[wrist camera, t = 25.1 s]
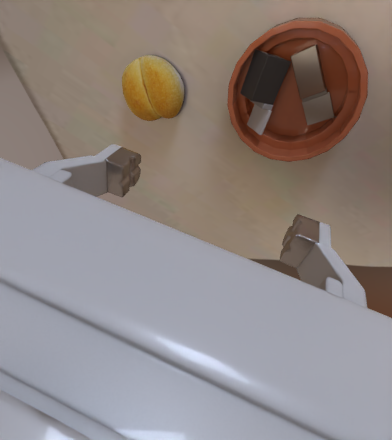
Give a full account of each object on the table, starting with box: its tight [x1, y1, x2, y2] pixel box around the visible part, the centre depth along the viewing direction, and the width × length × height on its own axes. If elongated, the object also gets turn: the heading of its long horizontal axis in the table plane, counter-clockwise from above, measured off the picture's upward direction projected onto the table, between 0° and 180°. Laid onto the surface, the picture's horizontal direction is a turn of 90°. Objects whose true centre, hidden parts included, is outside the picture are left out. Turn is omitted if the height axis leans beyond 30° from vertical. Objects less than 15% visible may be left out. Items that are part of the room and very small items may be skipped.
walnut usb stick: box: [290, 45, 334, 125], centre depth 31 cm, size 8×3×3 cm, turn 26°
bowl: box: [228, 18, 368, 161], centre depth 32 cm, size 14×14×5 cm
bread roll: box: [122, 55, 184, 121], centre depth 38 cm, size 8×9×4 cm
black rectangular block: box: [240, 49, 291, 135], centre depth 31 cm, size 8×3×3 cm
